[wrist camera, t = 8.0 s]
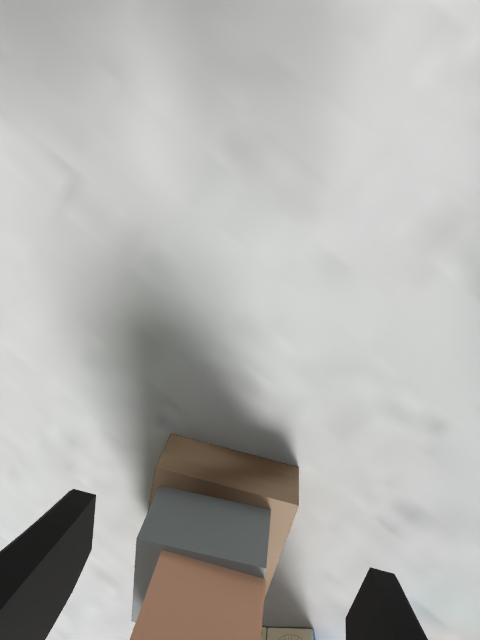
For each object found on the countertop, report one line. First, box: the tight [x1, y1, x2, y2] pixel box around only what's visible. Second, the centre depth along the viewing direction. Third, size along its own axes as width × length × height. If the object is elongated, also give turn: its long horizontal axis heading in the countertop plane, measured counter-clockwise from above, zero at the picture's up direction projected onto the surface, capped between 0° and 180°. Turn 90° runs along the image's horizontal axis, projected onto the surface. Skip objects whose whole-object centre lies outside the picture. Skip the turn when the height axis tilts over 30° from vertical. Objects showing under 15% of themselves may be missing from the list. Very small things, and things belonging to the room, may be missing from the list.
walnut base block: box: [148, 434, 299, 600], centre depth 22 cm, size 7×7×3 cm
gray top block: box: [132, 485, 271, 622], centre depth 19 cm, size 6×6×3 cm
